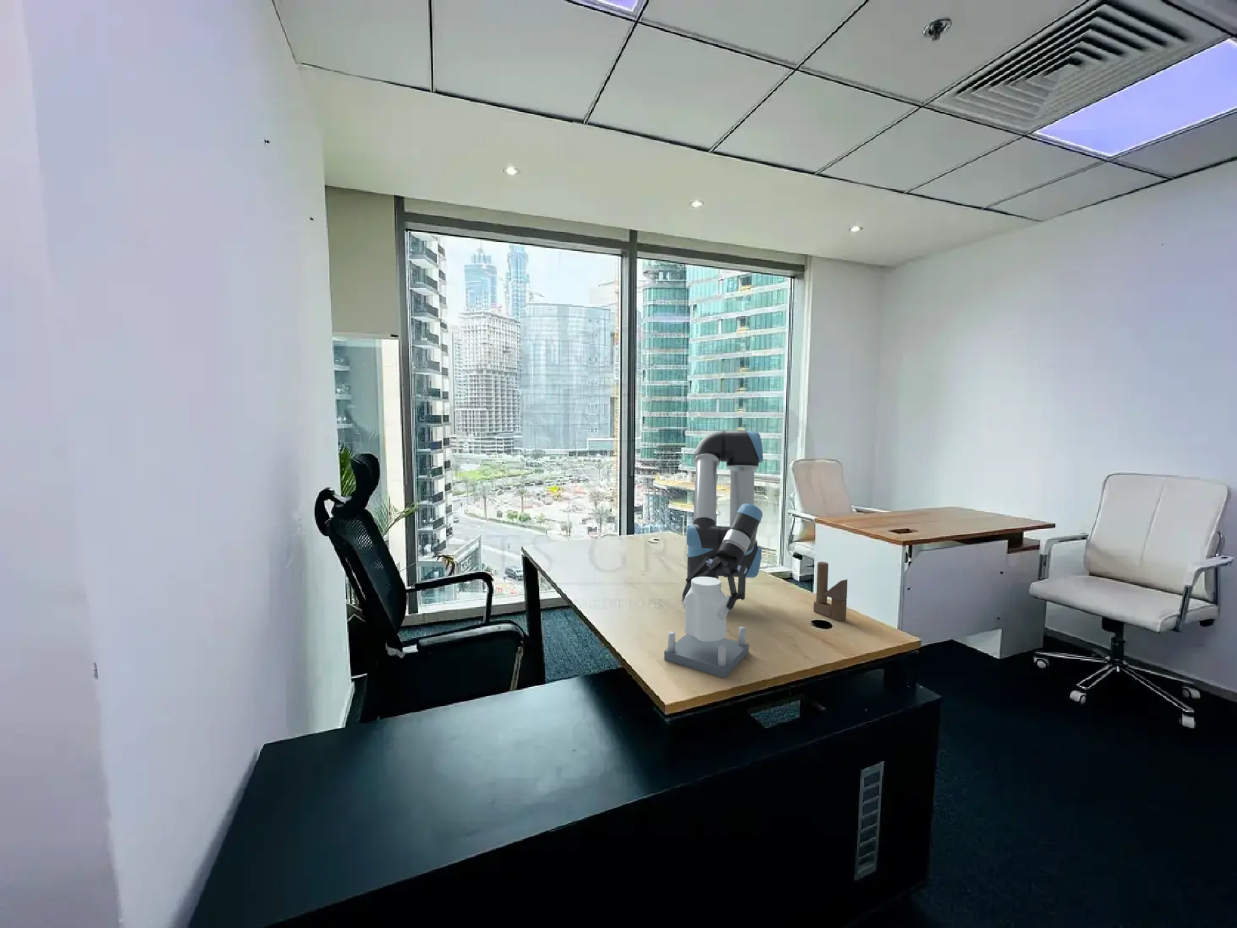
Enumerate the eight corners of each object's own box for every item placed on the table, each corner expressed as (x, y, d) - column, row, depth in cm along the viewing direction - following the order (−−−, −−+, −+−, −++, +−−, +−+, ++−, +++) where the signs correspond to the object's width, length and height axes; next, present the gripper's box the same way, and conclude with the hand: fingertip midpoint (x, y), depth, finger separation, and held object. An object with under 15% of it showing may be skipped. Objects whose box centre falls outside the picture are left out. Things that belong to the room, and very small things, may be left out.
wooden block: (839, 621, 166) (841, 569, 165) (813, 611, 175) (814, 562, 174) (846, 619, 168) (848, 568, 166) (819, 609, 177) (821, 560, 176)
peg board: (664, 659, 138) (664, 633, 137) (692, 637, 152) (692, 614, 152) (724, 678, 128) (725, 650, 127) (748, 652, 142) (749, 627, 142)
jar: (732, 636, 135) (733, 583, 134) (706, 644, 130) (707, 589, 129) (704, 622, 145) (705, 573, 144) (679, 629, 140) (679, 578, 139)
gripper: (774, 563, 140) (745, 631, 130) (704, 549, 157) (674, 608, 147) (765, 547, 136) (735, 616, 126) (695, 535, 153) (663, 595, 143)
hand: (702, 612), depth 136 cm, fingers closed on jar, 11 cm apart
